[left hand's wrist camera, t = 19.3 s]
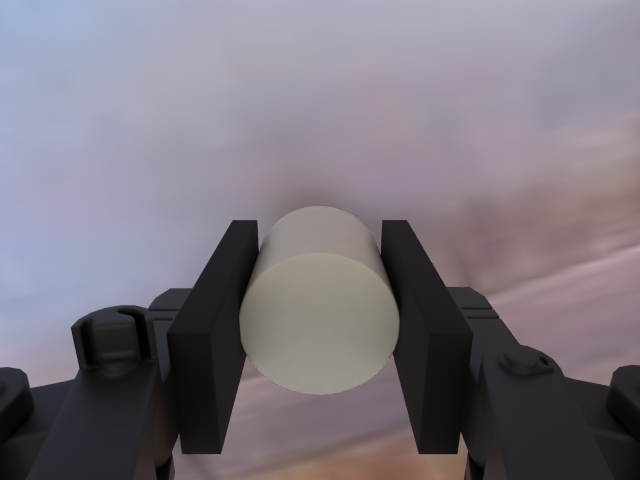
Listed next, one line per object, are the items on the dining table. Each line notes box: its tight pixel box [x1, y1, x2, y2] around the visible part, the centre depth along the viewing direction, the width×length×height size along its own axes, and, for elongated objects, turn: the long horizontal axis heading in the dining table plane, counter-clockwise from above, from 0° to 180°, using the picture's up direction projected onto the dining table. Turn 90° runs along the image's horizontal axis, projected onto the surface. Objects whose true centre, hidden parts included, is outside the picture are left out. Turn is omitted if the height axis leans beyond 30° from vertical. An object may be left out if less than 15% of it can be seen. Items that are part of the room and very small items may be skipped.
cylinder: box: [239, 206, 400, 395], centre depth 13 cm, size 4×4×4 cm
